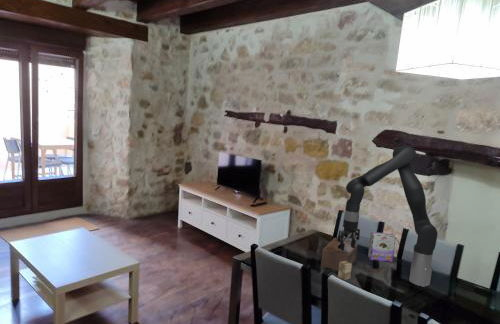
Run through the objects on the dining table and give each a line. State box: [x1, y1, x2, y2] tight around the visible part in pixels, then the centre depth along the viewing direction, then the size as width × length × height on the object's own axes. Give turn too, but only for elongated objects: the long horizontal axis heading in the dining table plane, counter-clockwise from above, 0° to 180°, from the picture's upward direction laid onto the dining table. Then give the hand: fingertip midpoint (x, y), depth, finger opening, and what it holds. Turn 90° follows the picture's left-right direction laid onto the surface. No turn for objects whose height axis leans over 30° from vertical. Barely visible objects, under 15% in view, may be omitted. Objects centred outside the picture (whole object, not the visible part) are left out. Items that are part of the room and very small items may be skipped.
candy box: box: [367, 231, 397, 263], centre depth 218 cm, size 14×6×16 cm, turn 84°
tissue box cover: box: [320, 237, 359, 272], centre depth 209 cm, size 26×14×10 cm, turn 151°
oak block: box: [337, 261, 353, 281], centre depth 189 cm, size 4×4×8 cm
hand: (347, 248), depth 187 cm, fingers open, 8 cm apart
